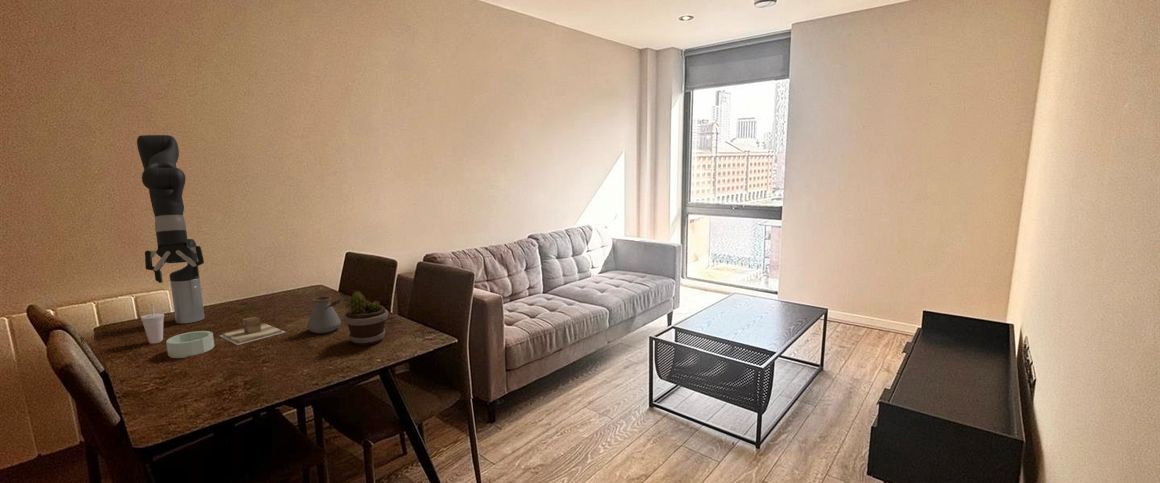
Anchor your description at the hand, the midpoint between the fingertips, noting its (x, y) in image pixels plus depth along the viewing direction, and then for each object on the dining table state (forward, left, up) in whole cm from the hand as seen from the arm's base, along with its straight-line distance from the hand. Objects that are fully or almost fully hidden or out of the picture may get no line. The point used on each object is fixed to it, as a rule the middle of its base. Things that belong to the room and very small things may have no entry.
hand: (177, 280), depth 156 cm
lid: (-7, +22, -26) cm, 35 cm away
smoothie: (-28, -1, -26) cm, 38 cm away
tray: (-7, +22, -26) cm, 35 cm away
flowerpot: (+33, +43, -26) cm, 60 cm away
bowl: (-7, +3, -26) cm, 27 cm away
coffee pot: (+15, +39, -27) cm, 50 cm away
